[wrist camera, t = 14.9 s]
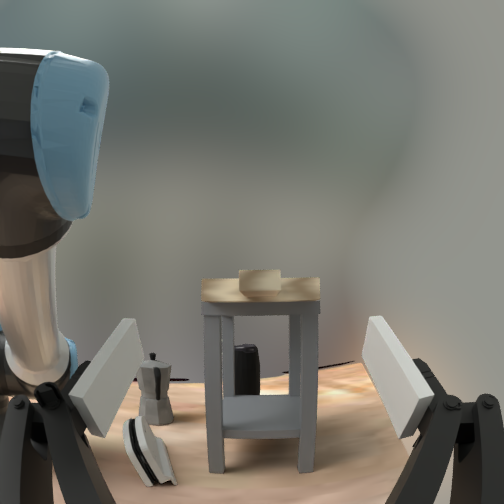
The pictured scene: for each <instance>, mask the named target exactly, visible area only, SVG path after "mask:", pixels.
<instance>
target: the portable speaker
mask: <svg viewBox="0 0 504 504" xmlns="http://www.w3.org/2000/svg"><path fill="white" fill-rule="evenodd" d="M234 369H235V395H260V362H259V356H258V349H257V347H256V346H255V345H254V344H243V345H239V346H234Z"/></svg>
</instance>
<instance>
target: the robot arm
mask: <svg viewBox="0 0 504 504" xmlns="http://www.w3.org/2000/svg"><path fill="white" fill-rule="evenodd" d="M108 93H109V77H108V74H107V72H106V70H105V69H104V68H103V67H102V66H101V65H100V64H98V63H96V62H94V61H90V60H85V59H82V58H78V57H74V56H71V55H67V54H63V53H62V52H61V51H50V50H39V49H24V48H0V504H54V502H53V486H52V462H53V465H54V469H55V472H56V476H57V479H58V482H59V485H60V488H61V491H62V494H63V497H64V500H65V503H66V504H116V502H115V501H114V499H113V497H112V495H111V493H110V491H109V489H108V487H107V485H106V482H105V480H104V478H103V476H102V474H101V472H100V469H99V467H98V465H97V462H96V460H95V458H94V455H93V453H92V450H91V448H90V445H89V442H88V440H87V437H86V435H85V434H84V431H85V429H86V428H88V430H89V431H90V433H91V435H95V436H99V437H102V438H105V437H106V434H107V432H108V430H109V428H110V426H111V424H112V422H113V420H114V418H115V415H116V413H117V411H118V409H119V407H120V405H121V403H122V401H123V399H124V397H125V395H126V393H127V391H128V389H129V387H130V385H131V383H132V381H133V379H134V377H135V375H136V373H137V371H138V369H139V367H140V365H141V363H142V361H143V359H144V353H143V349H142V345H141V342H140V337H139V333H138V329H137V325H136V320H135V319H129V318H123V320H122V321H121V322H120V324H119V325H118V326H117V327H116V329H115V330H114V331H113V333H112V334H111V335H110V337H109V338H108V339H107V341H106V342H105V344H104V345H103V346H102V348H101V349H100V350H99V352H98V353H97V354H96V356H95V357H94V359H93V360H92V361H85V362H84V363H82V364H81V365H80V366H79V367H78V359H77V350H76V345H75V343H74V341H72V340H69V339H67V338H65V337H64V336H63V335H62V333H61V332H60V331H59V330H58V323H57V310H56V279H55V267H56V263H55V262H56V245H57V244H58V243H59V242H60V241H61V240H62V239H63V238H64V237H65V236H66V234H67V233H68V231H69V230H70V227H71V225H72V222H73V221H74V220H76V219H83V218H85V217H86V216H88V214H89V213H90V210H91V204H92V199H93V191H94V184H95V176H96V168H97V161H98V153H99V148H100V143H101V136H102V130H103V124H104V118H105V112H106V106H107V99H108ZM362 358H363V360H364V362H365V364H366V366H367V368H368V370H369V373H370V375H371V377H372V379H373V381H374V384H375V386H376V388H377V390H378V392H379V395H380V397H381V399H382V401H383V404H384V406H385V408H386V410H387V413H388V415H389V417H390V420H391V422H392V424H393V427H394V429H395V432H396V434H397V436H398V439H402V438H405V437H409V436H413V435H414V433H415V431H416V429H417V428H418V429H419V431H420V435H419V437H418V438H417V440H416V442H415V443H414V445H413V447H414V448H413V450H412V453H411V455H410V457H409V459H408V461H407V463H406V465H405V467H404V469H403V471H402V473H401V475H400V477H399V479H398V481H397V483H396V485H395V487H394V489H393V490H392V492H391V494H390V496H389V497H388V499H387V501H386V503H385V504H433V503H434V501H435V498H436V496H437V493H438V491H439V488H440V486H441V483H442V481H443V478H444V475H445V472H446V469H447V466H448V463H449V460H450V457H451V454H452V451H453V448H454V462H453V478H452V490H451V498H450V504H504V428H503V421H502V415H501V410H500V405H499V402H498V400H497V399H496V398H495V397H494V396H492V395H491V394H482V395H480V396H479V397H478V399H477V400H476V402H469V403H462V402H461V400H460V399H459V398H458V397H456V396H453V395H447V394H446V392H445V390H444V389H443V387H442V386H441V384H440V383H439V381H438V380H437V378H436V377H434V376H435V375H434V374H433V373H432V372H431V369H430V368H429V367H428V365H427V364H426V363H425V362H423V361H422V360H421V359H419V358H418V359H413V360H412V359H411V358H410V356H409V354H408V353H407V352H406V350H405V349H404V347H403V346H402V344H401V343H400V341H399V340H398V338H397V337H396V335H395V334H394V333H393V331H392V330H391V328H390V327H389V326H388V324H387V323H386V321H385V320H384V319H383V317H382V316H372V317H369V322H368V327H367V333H366V337H365V342H364V347H363V351H362ZM8 396H12V397H13V398H12V399H11V400H10V402H9V399H8ZM29 399H36V400H37V401H38V403H31V402H30V400H29Z"/></svg>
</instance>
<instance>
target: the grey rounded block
mask: <svg viewBox="0 0 504 504" xmlns="http://www.w3.org/2000/svg"><path fill="white" fill-rule="evenodd" d="M123 439H124V445H125V449H126V453H127V455H128V457H129V459H130V460H131V462H132V464H133V466H134V467H135V469H136V471H137V472H138V474H139V476H140V477H141V479H142V481H143V482H144V484H145V485H146V486H149V487H150V486H153V483H155V482H154V478H155V479H156V481H157V482H160V483H164V482H166V481H169V480H171V481H172V482H173V484H174V485H177V482H176V479H175V476H174V473H173V469H172V466H171V463H170V460H169V456H168V453H167V449H166V446H165V444H164V442H163V440H162V439H161V438H157V437H155V436H154V434H153V432H152V430H151V428H150V427H149V425H148V423H147V421H146V419H145V417H144V416H137V417H136V418H135V419H132V418H131V419H129V420H127V421H125V422H124V424H123Z"/></svg>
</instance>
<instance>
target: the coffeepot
mask: <svg viewBox="0 0 504 504" xmlns="http://www.w3.org/2000/svg"><path fill="white" fill-rule="evenodd" d="M155 357H156V354H155V353H150V358H151V360H148V361H142V363H141V365H140V367H139V369H138V371H137V373H136V375H137V380H138V385H139V389H140V390H141V394H142V396H141V397H140V407H139V416H144V417H145V419H146V421H147V423H148V424H149V425H166V424H169V423H171V422H172V421H173V418H174V416H173V413H172V409H171V404H170V400H169V397H168V395H167V391H168V389H169V382H170V373H171V365H170V364H167V363H164V362H160V361H157V360H155Z"/></svg>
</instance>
